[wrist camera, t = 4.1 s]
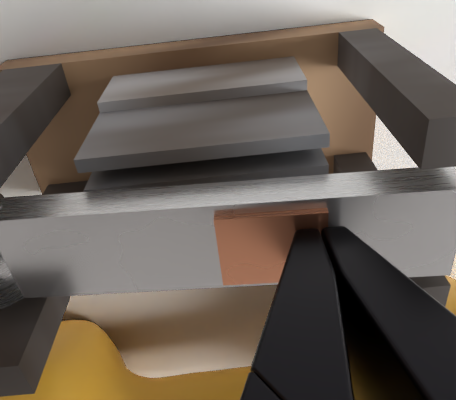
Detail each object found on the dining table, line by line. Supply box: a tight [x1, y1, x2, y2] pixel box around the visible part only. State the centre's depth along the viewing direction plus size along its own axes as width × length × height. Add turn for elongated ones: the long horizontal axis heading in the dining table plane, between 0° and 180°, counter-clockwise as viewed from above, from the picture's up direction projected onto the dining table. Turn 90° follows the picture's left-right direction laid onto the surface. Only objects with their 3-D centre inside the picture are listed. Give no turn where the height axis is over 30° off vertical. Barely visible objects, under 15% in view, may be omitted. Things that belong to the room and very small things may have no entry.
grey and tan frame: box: [0, 19, 456, 397], centre depth 11 cm, size 11×5×8 cm, turn 96°
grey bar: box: [0, 167, 456, 309], centre depth 9 cm, size 10×2×1 cm, turn 96°
